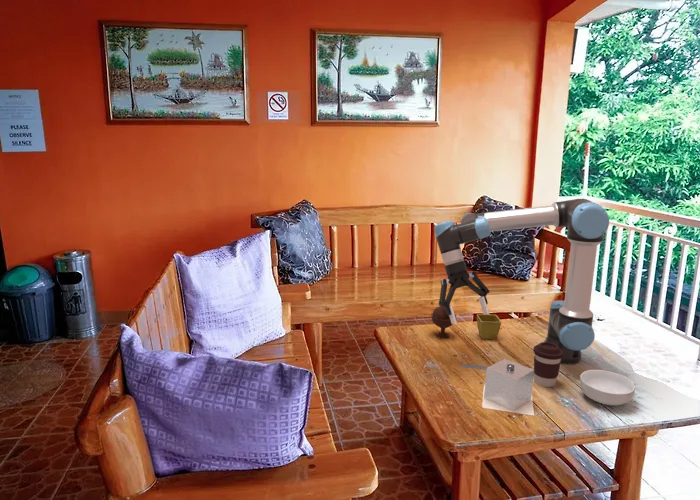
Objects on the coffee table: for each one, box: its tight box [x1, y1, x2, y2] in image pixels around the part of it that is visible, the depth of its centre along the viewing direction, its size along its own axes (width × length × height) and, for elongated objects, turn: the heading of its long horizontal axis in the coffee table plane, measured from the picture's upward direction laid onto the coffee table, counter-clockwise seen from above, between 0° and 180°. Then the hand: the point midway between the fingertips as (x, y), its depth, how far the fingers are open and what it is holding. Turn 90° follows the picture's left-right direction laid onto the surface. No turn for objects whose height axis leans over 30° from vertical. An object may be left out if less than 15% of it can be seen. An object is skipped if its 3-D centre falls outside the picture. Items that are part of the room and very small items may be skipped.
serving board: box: [481, 384, 535, 416], centre depth 173 cm, size 16×16×1 cm
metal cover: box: [484, 358, 534, 411], centre depth 172 cm, size 11×11×12 cm
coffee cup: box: [532, 341, 564, 388], centre depth 184 cm, size 10×10×15 cm
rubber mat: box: [460, 362, 489, 371], centre depth 192 cm, size 14×14×1 cm
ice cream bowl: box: [430, 304, 457, 339], centre depth 225 cm, size 11×11×15 cm
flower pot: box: [476, 313, 502, 340], centre depth 226 cm, size 9×9×9 cm
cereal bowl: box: [579, 369, 636, 406], centre depth 175 cm, size 17×17×7 cm
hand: (470, 318), depth 189 cm, fingers open, 13 cm apart
